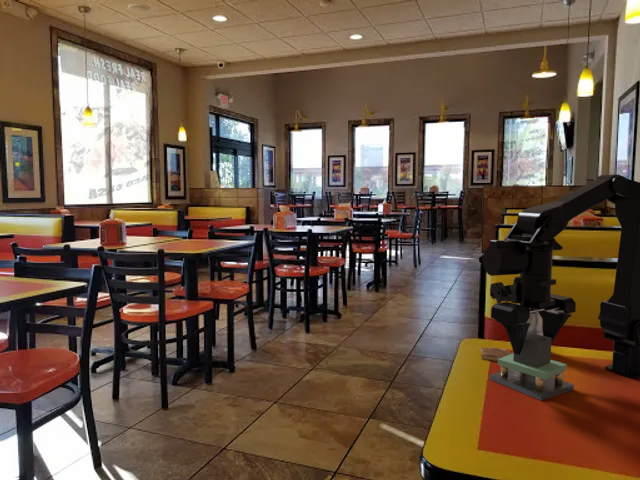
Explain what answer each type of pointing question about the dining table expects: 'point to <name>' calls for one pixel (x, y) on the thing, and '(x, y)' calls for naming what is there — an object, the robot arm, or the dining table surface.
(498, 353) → the shard
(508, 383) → the chassis
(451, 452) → the dining table surface
